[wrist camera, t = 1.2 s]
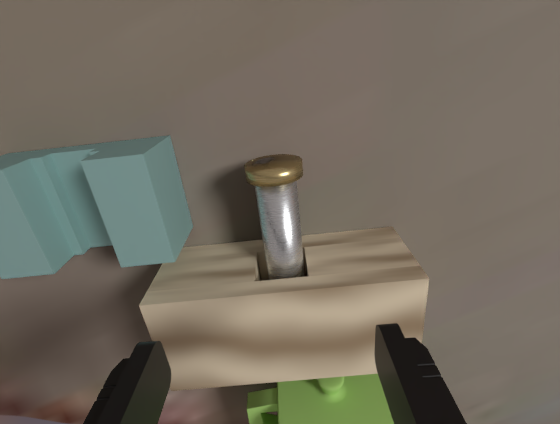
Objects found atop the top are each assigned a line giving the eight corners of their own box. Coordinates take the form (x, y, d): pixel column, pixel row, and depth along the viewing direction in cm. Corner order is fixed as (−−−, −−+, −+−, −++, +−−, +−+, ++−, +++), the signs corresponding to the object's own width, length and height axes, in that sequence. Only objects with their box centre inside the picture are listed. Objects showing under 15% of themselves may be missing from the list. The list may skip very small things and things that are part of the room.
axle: (241, 159, 23) (248, 175, 20) (293, 151, 24) (309, 165, 21) (270, 338, 31) (279, 372, 28) (309, 328, 32) (323, 360, 28)
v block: (7, 153, 25) (-60, 176, 20) (169, 135, 25) (143, 154, 20) (49, 240, 28) (1, 279, 23) (193, 226, 28) (175, 262, 23)
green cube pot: (413, 330, 34) (461, 415, 26) (406, 394, 38) (447, 487, 29) (247, 344, 34) (239, 434, 26) (257, 407, 38) (253, 503, 30)
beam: (170, 248, 29) (138, 305, 22) (392, 226, 28) (429, 278, 21) (192, 322, 33) (171, 390, 26) (388, 305, 32) (418, 370, 25)
